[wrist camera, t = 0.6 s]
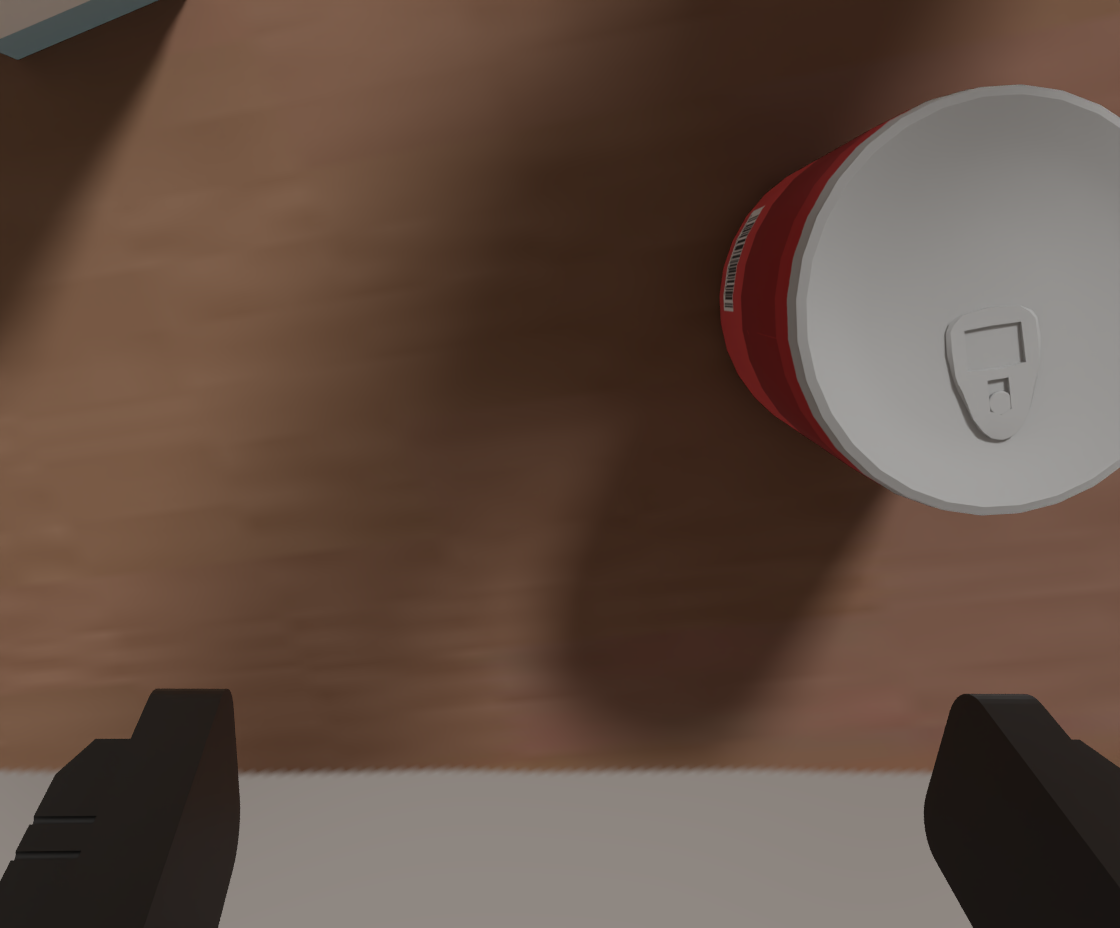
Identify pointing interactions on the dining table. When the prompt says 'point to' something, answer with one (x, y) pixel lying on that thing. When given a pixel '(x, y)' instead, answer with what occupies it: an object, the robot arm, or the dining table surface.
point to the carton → (54, 21)
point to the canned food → (945, 300)
